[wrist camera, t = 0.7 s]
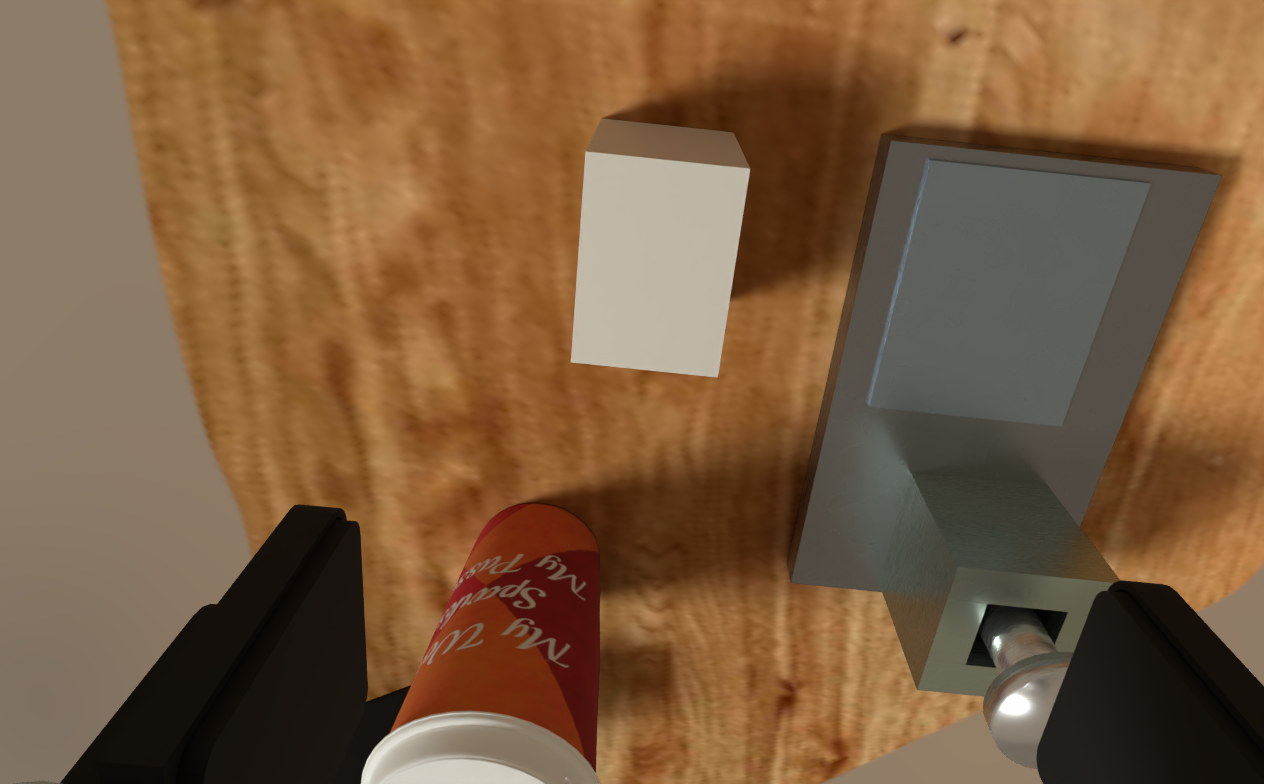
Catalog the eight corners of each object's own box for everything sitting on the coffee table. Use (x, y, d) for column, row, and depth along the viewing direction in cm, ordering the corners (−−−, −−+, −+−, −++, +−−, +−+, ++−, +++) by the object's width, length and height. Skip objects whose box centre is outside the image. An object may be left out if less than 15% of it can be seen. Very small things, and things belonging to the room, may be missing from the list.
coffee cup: (588, 461, 38) (545, 723, 24) (646, 597, 41) (636, 895, 28) (423, 508, 39) (296, 779, 26) (491, 636, 43) (410, 936, 29)
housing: (601, 118, 31) (585, 151, 25) (733, 132, 31) (750, 168, 25) (588, 293, 34) (570, 362, 28) (708, 305, 34) (717, 377, 28)
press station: (881, 134, 31) (945, 178, 24) (1197, 167, 31) (1357, 221, 24) (786, 562, 40) (813, 689, 33) (1034, 587, 40) (1114, 719, 33)
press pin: (956, 553, 32) (1015, 667, 27) (1069, 564, 32) (1150, 681, 27) (928, 640, 34) (977, 763, 29) (1034, 650, 34) (1103, 775, 29)
